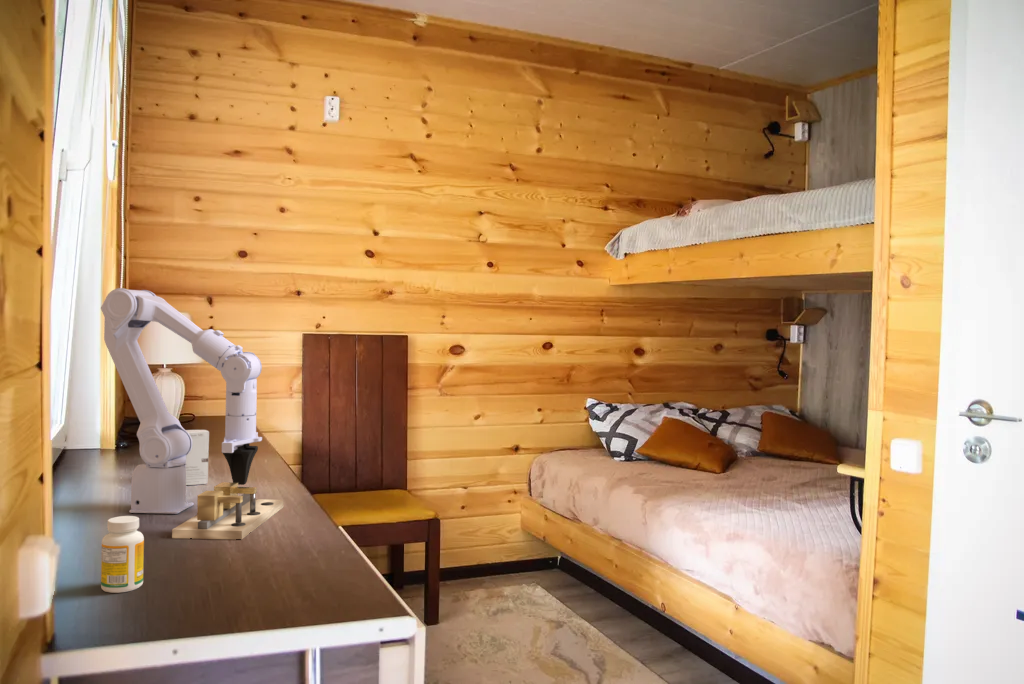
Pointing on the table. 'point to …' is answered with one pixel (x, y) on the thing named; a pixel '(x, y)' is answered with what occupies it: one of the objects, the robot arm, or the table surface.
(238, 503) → the board
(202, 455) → the skincare box
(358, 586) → the table surface
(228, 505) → the tan block with post
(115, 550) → the supplement bottle
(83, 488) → the table surface
